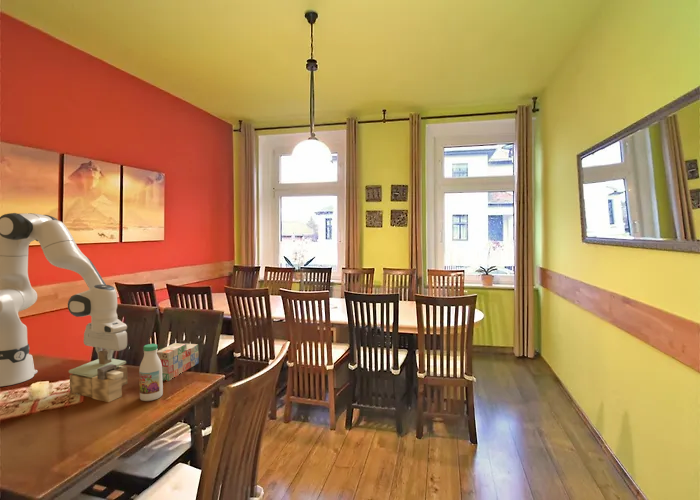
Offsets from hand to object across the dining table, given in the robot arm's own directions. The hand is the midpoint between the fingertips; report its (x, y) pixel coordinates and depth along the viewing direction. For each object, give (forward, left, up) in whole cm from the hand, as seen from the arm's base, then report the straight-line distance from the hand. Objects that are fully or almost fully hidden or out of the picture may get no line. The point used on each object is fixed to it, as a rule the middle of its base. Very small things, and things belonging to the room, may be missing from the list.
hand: (105, 358), depth 149 cm
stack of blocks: (+16, +22, -11) cm, 30 cm away
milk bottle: (+26, -2, -11) cm, 29 cm away
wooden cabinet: (+5, -3, -11) cm, 12 cm away
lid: (0, -3, -3) cm, 4 cm away
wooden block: (+13, -8, -3) cm, 16 cm away
